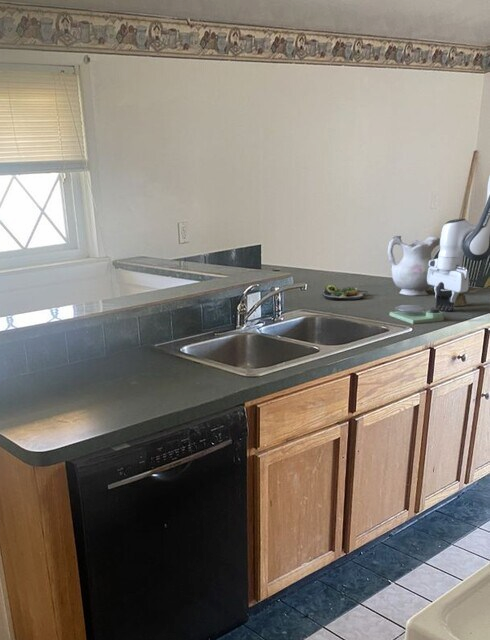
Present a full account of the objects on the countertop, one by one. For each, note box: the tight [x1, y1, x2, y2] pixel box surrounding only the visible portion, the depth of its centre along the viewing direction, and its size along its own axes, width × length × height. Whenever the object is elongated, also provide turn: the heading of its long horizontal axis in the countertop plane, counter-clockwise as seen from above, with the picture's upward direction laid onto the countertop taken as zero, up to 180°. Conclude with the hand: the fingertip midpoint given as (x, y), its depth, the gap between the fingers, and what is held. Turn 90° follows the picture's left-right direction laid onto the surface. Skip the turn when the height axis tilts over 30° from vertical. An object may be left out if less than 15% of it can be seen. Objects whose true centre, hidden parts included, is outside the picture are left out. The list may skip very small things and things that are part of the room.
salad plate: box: [321, 283, 369, 301], centre depth 286 cm, size 19×18×5 cm
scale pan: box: [395, 304, 425, 312], centre depth 247 cm, size 10×10×1 cm
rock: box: [454, 292, 468, 307], centre depth 261 cm, size 11×9×10 cm
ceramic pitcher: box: [387, 235, 441, 296], centre depth 283 cm, size 22×20×25 cm
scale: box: [389, 309, 445, 325], centre depth 246 cm, size 15×14×3 cm
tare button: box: [429, 307, 439, 313], centre depth 241 cm, size 3×3×2 cm
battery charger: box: [435, 282, 455, 313], centre depth 252 cm, size 7×4×11 cm, turn 54°
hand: (444, 300), depth 253 cm, fingers closed on battery charger, 7 cm apart
